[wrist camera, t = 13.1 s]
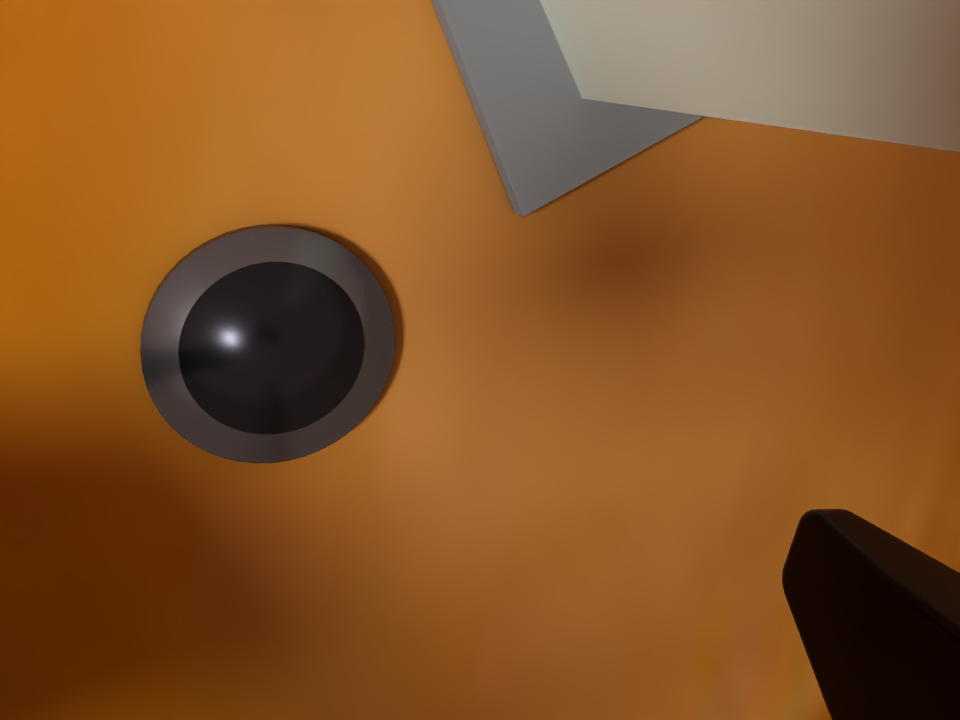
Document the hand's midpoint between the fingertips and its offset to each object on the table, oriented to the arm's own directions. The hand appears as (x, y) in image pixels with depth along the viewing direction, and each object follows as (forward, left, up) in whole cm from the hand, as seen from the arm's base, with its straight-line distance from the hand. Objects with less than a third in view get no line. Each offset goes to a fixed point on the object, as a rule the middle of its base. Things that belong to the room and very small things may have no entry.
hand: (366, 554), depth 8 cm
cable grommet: (0, -3, -13) cm, 13 cm away
